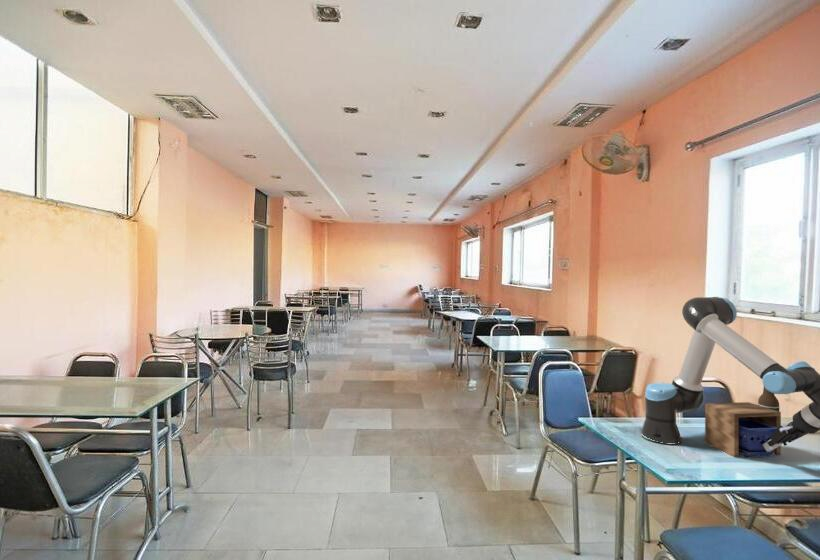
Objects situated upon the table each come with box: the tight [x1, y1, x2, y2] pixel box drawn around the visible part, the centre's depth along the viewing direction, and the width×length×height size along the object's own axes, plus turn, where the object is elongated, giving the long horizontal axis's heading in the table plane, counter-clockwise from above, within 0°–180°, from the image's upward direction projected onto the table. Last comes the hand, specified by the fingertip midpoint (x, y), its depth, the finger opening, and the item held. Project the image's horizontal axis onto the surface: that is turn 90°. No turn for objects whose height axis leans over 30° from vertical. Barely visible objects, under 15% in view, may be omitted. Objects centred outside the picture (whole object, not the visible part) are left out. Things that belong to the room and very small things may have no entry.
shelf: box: [704, 401, 782, 458], centre depth 176 cm, size 14×21×17 cm
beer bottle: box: [757, 386, 780, 412], centre depth 201 cm, size 8×8×24 cm
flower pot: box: [739, 419, 778, 458], centre depth 173 cm, size 13×13×12 cm
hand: (766, 448), depth 166 cm, fingers closed
